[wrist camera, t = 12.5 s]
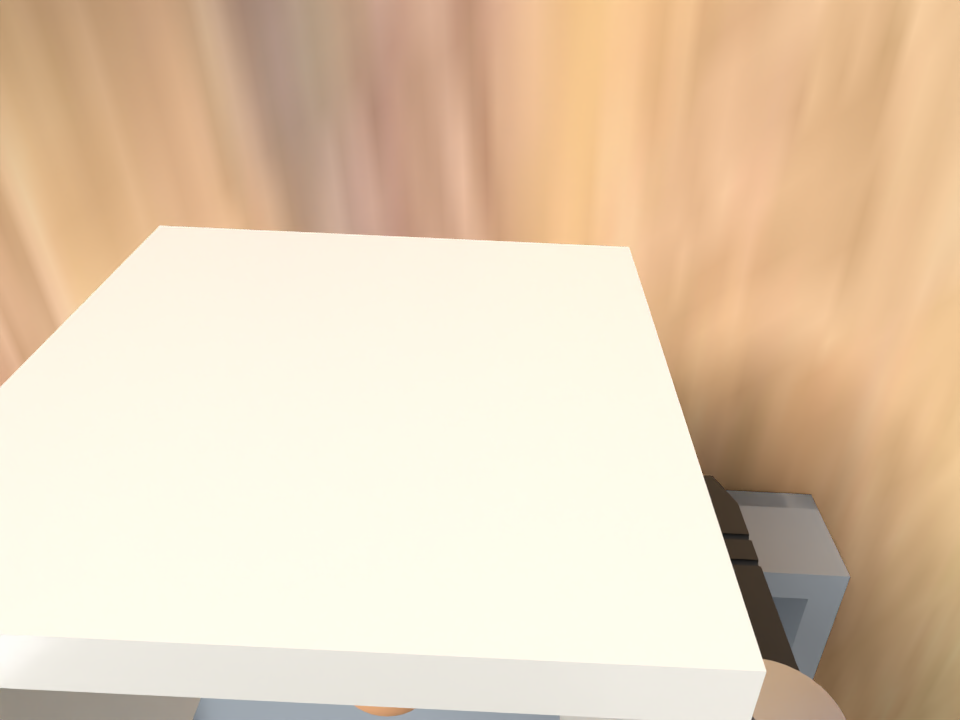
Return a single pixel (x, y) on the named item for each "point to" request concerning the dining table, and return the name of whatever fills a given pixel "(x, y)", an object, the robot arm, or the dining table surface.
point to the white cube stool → (361, 490)
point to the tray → (782, 556)
